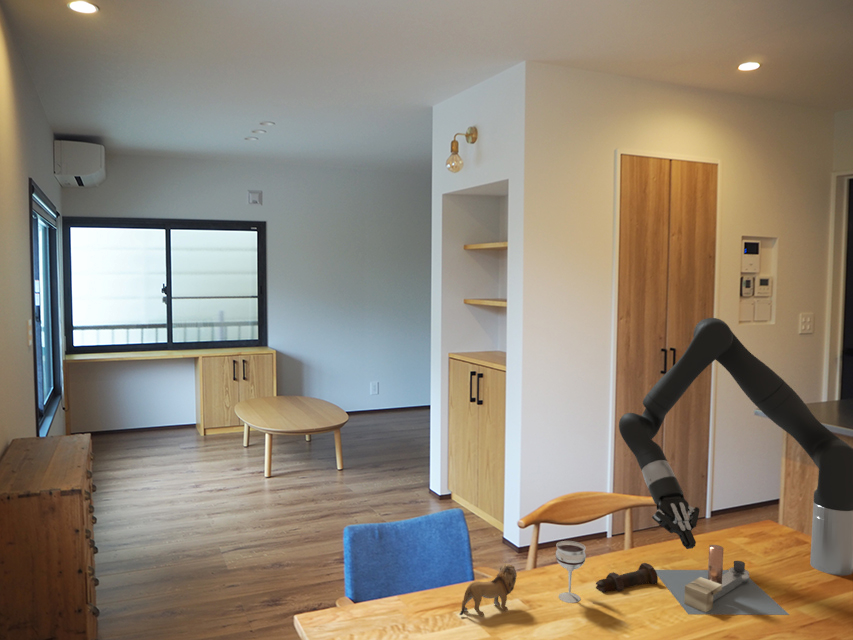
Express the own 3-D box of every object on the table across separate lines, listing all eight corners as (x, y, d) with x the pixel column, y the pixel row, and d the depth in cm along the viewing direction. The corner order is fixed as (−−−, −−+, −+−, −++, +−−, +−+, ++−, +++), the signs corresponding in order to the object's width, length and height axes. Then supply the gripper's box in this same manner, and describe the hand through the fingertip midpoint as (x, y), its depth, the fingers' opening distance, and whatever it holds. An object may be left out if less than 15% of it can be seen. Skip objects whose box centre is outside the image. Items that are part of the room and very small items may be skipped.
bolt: (596, 602, 158) (648, 588, 164) (608, 600, 154) (661, 586, 159) (589, 575, 160) (640, 563, 166) (600, 573, 156) (652, 560, 162)
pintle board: (652, 574, 168) (653, 552, 168) (740, 574, 169) (741, 552, 168) (688, 619, 146) (689, 594, 146) (789, 619, 147) (790, 594, 146)
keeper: (699, 594, 155) (700, 576, 155) (721, 602, 152) (722, 584, 151) (684, 603, 151) (684, 585, 151) (705, 612, 147) (706, 594, 147)
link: (733, 573, 166) (735, 529, 165) (752, 580, 162) (754, 535, 162) (696, 595, 154) (698, 548, 153) (715, 603, 151) (717, 554, 150)
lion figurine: (507, 596, 156) (507, 558, 155) (521, 606, 151) (522, 567, 151) (453, 612, 148) (454, 572, 148) (467, 623, 144) (467, 582, 143)
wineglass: (587, 594, 157) (588, 543, 157) (581, 607, 151) (582, 554, 150) (558, 588, 160) (559, 538, 159) (551, 600, 154) (552, 549, 153)
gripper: (645, 477, 170) (675, 543, 159) (690, 473, 173) (722, 538, 162) (633, 491, 175) (660, 556, 164) (677, 487, 179) (706, 551, 168)
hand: (691, 547), depth 163 cm, fingers closed
